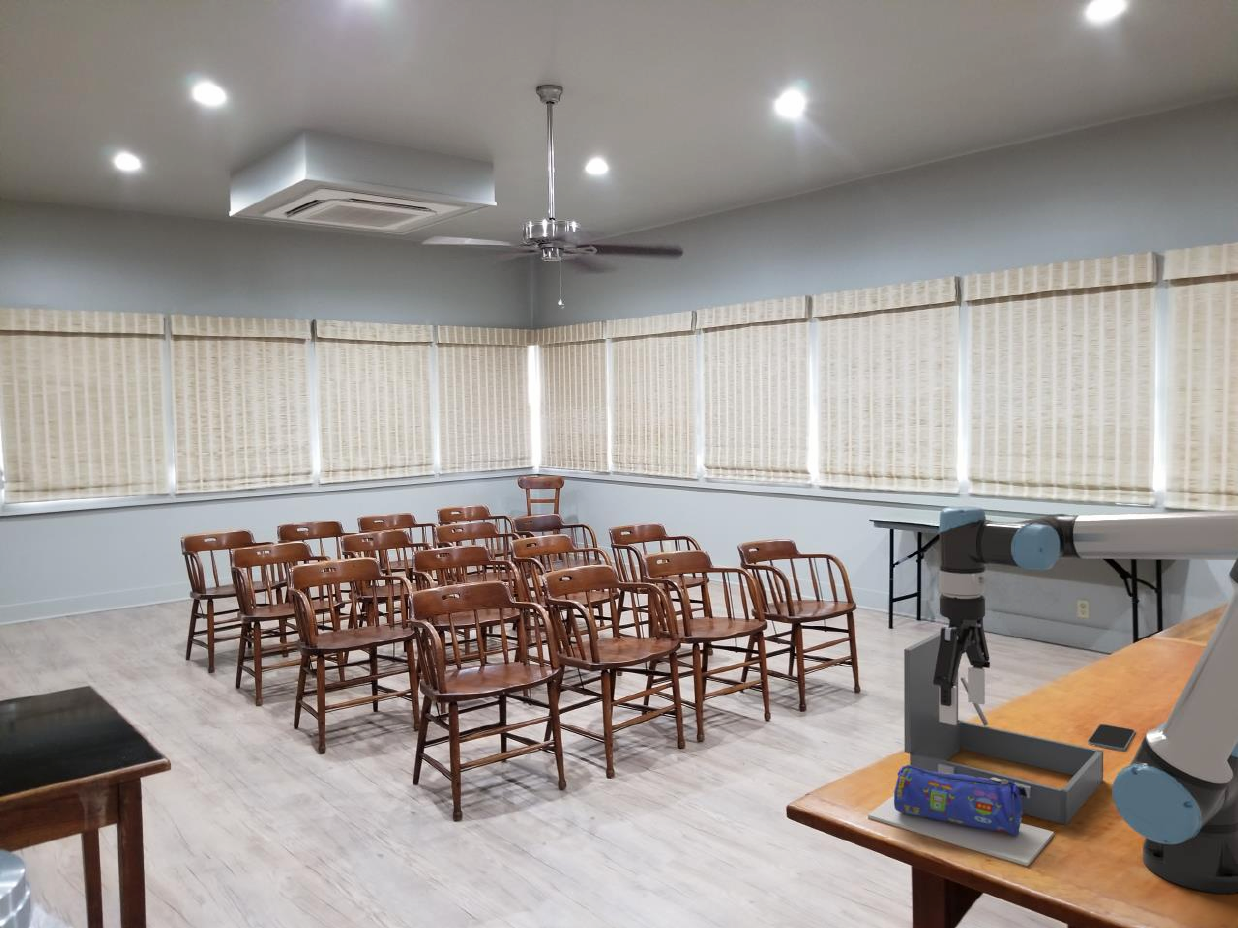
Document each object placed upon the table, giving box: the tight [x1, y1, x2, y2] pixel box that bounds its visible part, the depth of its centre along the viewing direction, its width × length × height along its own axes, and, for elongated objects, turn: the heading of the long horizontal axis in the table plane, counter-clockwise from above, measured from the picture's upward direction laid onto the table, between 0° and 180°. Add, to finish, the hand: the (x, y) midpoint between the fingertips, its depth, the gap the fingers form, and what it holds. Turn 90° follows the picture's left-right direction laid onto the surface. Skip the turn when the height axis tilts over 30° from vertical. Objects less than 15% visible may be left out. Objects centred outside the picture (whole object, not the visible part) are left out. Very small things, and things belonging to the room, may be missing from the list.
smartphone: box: [1087, 723, 1136, 752], centre depth 202 cm, size 7×1×15 cm
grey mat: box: [867, 794, 1055, 867], centre depth 161 cm, size 14×28×1 cm, turn 48°
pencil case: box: [893, 764, 1027, 836], centre depth 161 cm, size 22×9×10 cm, turn 61°
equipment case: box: [903, 631, 1104, 826], centre depth 179 cm, size 26×30×27 cm
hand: (962, 712), depth 160 cm, fingers open, 13 cm apart
